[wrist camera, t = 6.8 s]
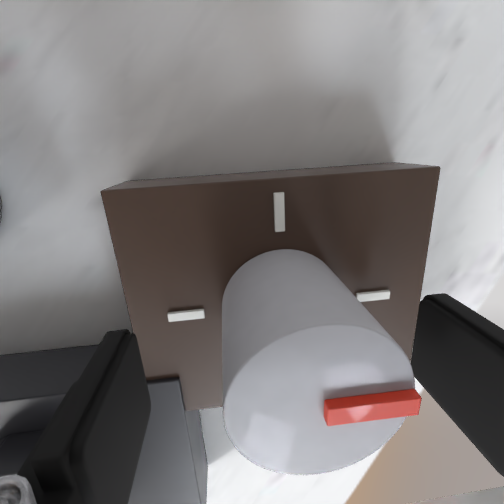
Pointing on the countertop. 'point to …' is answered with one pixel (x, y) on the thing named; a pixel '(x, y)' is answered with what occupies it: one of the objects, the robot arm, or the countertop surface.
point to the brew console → (261, 241)
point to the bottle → (0, 210)
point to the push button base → (156, 437)
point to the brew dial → (307, 368)
